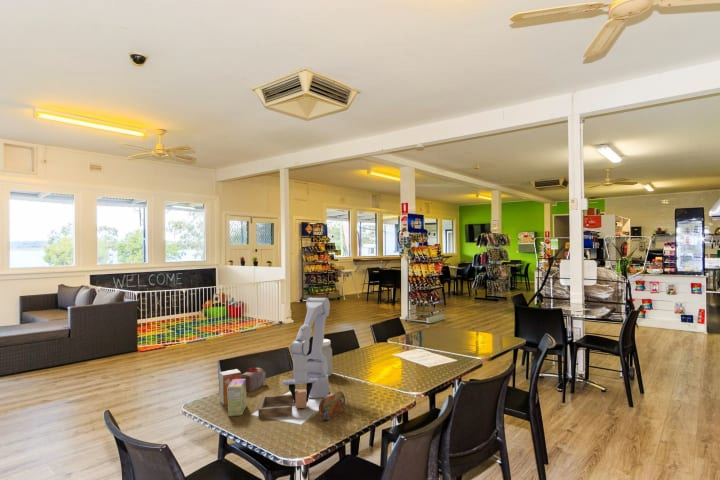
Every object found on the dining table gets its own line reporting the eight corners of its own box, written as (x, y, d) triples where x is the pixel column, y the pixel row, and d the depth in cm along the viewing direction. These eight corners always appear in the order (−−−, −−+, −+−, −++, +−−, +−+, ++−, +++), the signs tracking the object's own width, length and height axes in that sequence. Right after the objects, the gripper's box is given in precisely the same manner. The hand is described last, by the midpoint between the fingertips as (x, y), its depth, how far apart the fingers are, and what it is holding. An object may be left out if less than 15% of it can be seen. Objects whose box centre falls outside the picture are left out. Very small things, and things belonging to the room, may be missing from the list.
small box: (223, 405, 179) (222, 375, 179) (219, 401, 184) (218, 371, 184) (242, 401, 183) (241, 371, 183) (237, 397, 189) (236, 368, 189)
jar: (325, 370, 224) (324, 337, 224) (336, 374, 217) (335, 340, 217) (310, 375, 218) (309, 340, 218) (321, 379, 210) (320, 343, 211)
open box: (293, 402, 180) (293, 394, 180) (292, 415, 166) (291, 406, 166) (262, 404, 179) (262, 396, 179) (258, 418, 164) (258, 409, 164)
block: (306, 403, 176) (306, 389, 176) (306, 407, 171) (306, 392, 172) (296, 404, 175) (295, 389, 175) (295, 408, 171) (295, 393, 171)
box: (233, 406, 177) (232, 379, 177) (246, 405, 178) (246, 378, 178) (227, 416, 167) (226, 387, 167) (241, 415, 167) (241, 386, 168)
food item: (253, 383, 208) (252, 363, 208) (267, 384, 206) (266, 364, 206) (237, 392, 195) (237, 371, 195) (252, 393, 193) (252, 372, 193)
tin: (324, 423, 158) (323, 401, 158) (317, 421, 159) (316, 399, 159) (346, 409, 170) (345, 389, 171) (339, 408, 172) (339, 387, 172)
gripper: (282, 373, 169) (282, 406, 169) (317, 371, 170) (318, 404, 170) (283, 368, 176) (284, 400, 176) (317, 366, 177) (318, 397, 177)
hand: (301, 401), depth 173 cm, fingers closed on block, 4 cm apart
